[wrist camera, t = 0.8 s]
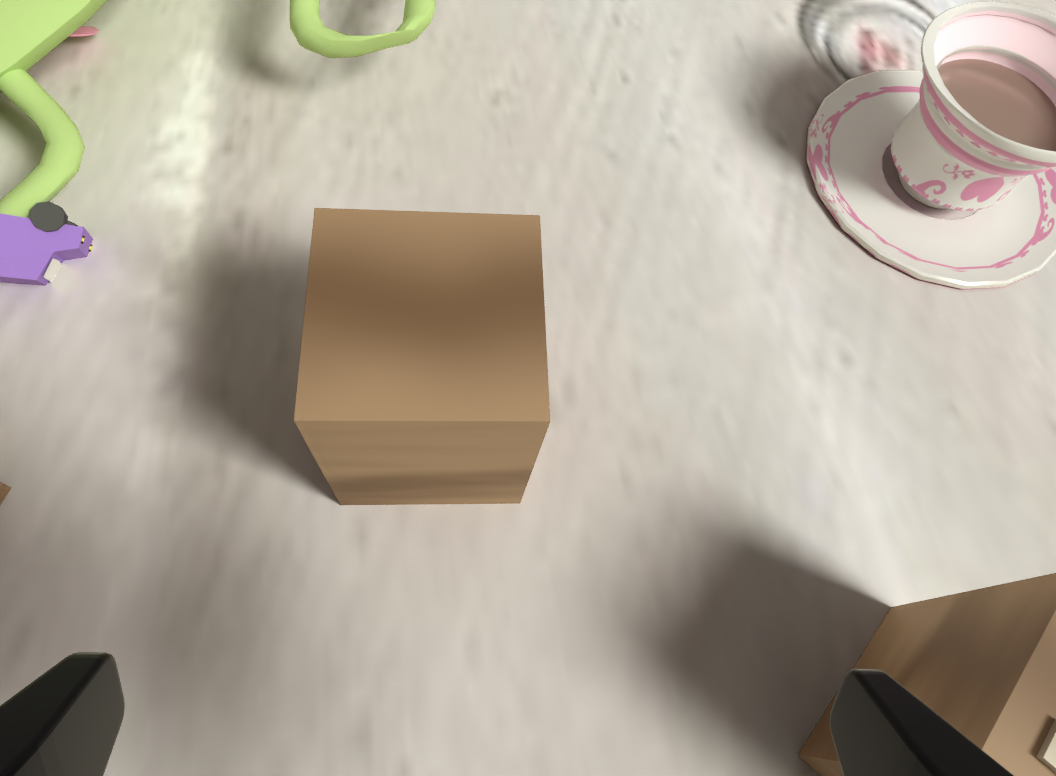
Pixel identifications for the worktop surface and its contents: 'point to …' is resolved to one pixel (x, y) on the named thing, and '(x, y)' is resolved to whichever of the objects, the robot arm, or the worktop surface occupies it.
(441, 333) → the plain block
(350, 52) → the figurine
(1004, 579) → the worktop surface
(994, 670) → the striped block
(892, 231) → the teacup
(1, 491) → the striped block
